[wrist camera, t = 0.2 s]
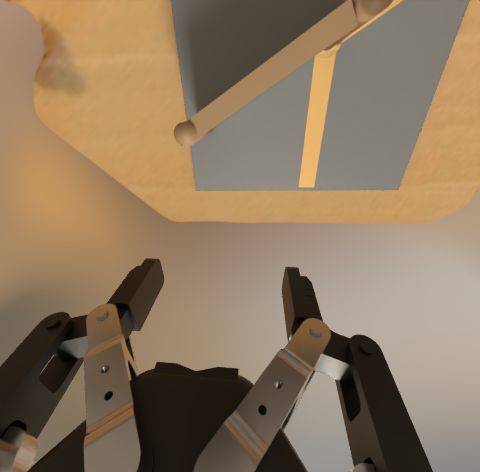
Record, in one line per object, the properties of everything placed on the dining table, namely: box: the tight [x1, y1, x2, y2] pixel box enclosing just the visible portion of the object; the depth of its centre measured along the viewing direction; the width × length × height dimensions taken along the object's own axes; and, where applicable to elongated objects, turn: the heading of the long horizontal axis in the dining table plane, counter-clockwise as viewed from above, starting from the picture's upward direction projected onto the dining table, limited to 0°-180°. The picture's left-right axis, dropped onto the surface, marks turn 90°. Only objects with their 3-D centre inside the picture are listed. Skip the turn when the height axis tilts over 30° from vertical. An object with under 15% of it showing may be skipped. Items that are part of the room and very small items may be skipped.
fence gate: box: [174, 0, 358, 147], centre depth 26 cm, size 20×2×13 cm, turn 121°
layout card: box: [171, 0, 470, 191], centre depth 32 cm, size 31×37×1 cm
